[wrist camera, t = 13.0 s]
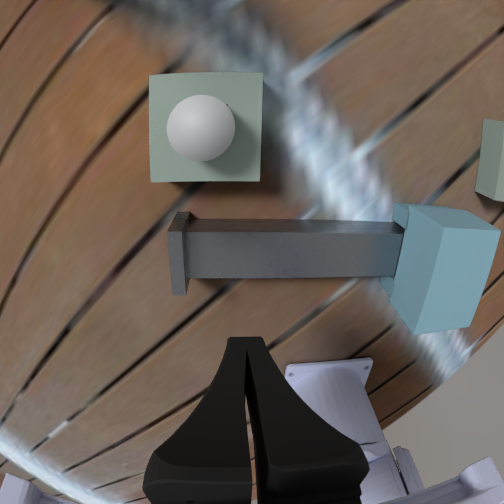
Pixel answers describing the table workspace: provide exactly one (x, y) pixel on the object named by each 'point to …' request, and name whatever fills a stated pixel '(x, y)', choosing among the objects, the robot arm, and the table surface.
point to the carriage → (440, 266)
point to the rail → (280, 249)
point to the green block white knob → (205, 126)
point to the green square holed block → (491, 161)
